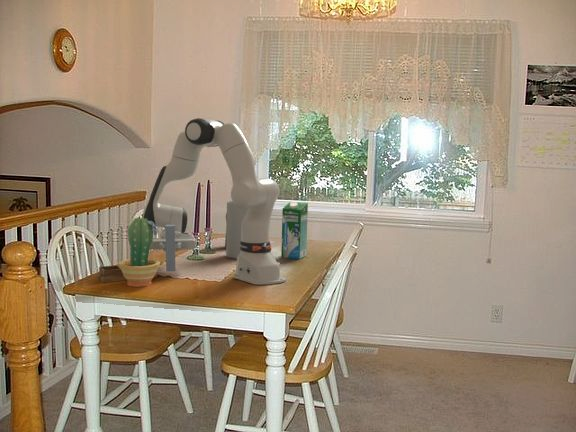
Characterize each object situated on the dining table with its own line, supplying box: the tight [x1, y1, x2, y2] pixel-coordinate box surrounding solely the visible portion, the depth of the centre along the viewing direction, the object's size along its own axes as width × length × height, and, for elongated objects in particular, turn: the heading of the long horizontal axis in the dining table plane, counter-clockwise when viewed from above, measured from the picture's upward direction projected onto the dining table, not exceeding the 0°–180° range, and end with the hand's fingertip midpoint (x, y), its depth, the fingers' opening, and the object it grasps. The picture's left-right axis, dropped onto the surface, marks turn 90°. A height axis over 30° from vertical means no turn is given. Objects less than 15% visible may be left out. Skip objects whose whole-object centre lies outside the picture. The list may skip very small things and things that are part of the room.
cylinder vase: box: [225, 200, 248, 260], centre depth 303 cm, size 12×12×25 cm
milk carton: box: [280, 201, 309, 260], centre depth 306 cm, size 9×9×25 cm
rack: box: [97, 265, 158, 283], centre depth 257 cm, size 7×21×4 cm, turn 120°
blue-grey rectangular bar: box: [165, 225, 176, 273], centre depth 260 cm, size 4×4×18 cm
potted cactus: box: [117, 216, 161, 288], centre depth 247 cm, size 15×15×25 cm
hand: (170, 247), depth 259 cm, fingers closed on blue-grey rectangular bar, 4 cm apart
